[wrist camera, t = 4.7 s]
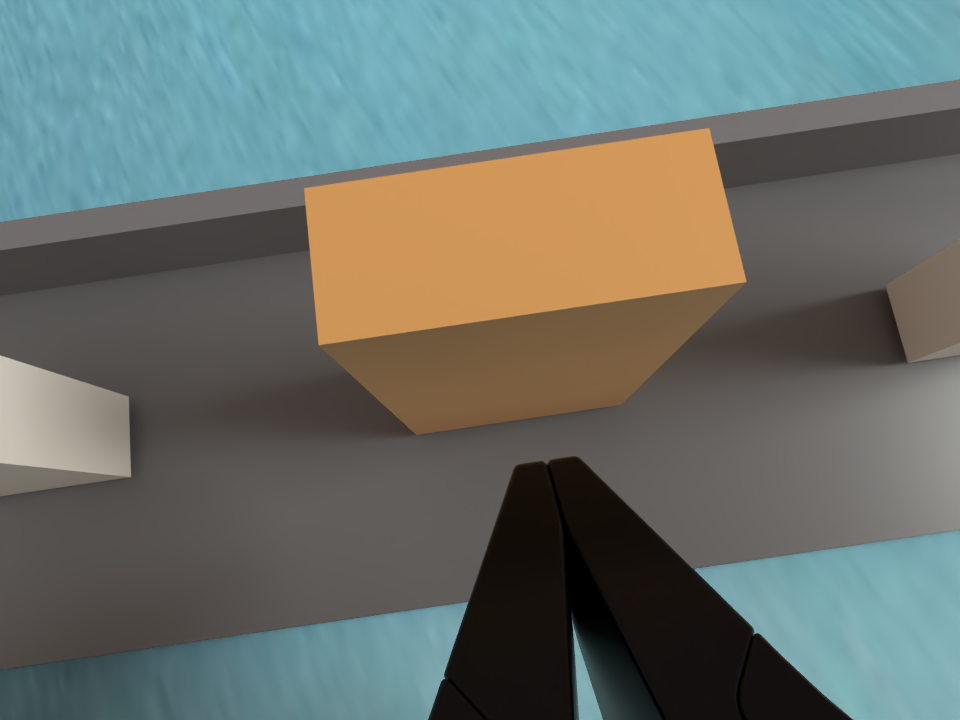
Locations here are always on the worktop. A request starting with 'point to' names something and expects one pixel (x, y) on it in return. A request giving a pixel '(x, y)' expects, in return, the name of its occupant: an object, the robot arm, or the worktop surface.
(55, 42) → the worktop surface
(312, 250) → the key middle
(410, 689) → the worktop surface
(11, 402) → the key
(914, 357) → the key
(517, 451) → the long grey base rail
